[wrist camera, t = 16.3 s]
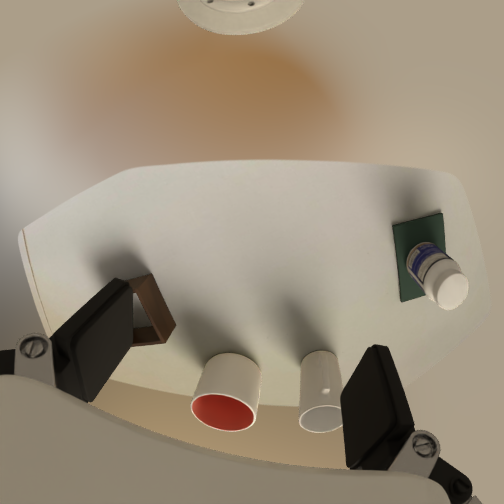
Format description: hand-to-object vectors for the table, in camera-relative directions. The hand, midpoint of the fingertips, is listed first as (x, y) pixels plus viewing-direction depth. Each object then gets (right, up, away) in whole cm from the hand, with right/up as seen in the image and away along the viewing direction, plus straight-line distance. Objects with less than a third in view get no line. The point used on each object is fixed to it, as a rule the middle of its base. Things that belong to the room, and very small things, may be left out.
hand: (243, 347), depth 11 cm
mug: (+11, -13, +34) cm, 39 cm away
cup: (-3, -17, +38) cm, 41 cm away
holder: (-18, -5, +35) cm, 40 cm away
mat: (+24, +3, +26) cm, 36 cm away
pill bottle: (+24, +2, +26) cm, 36 cm away
